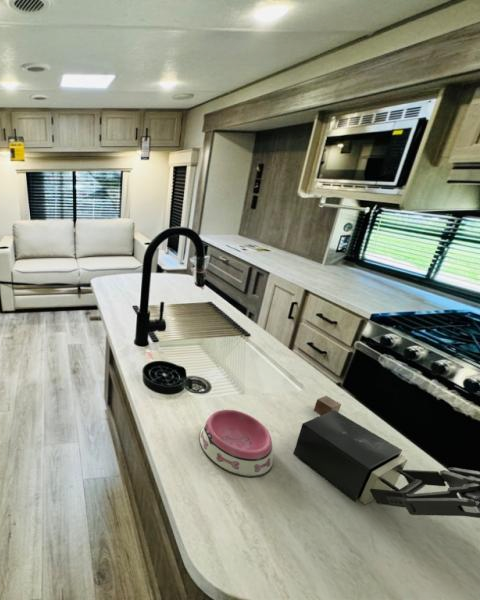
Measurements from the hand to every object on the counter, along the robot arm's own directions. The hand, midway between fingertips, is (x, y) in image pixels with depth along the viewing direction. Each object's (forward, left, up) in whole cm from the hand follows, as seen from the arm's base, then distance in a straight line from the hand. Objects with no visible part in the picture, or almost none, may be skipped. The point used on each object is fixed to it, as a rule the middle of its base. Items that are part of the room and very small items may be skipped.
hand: (390, 486), depth 70 cm
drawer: (+5, 0, -4) cm, 7 cm away
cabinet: (+10, 0, -5) cm, 11 cm away
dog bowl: (+25, +19, -5) cm, 31 cm away
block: (+24, -18, -5) cm, 30 cm away
